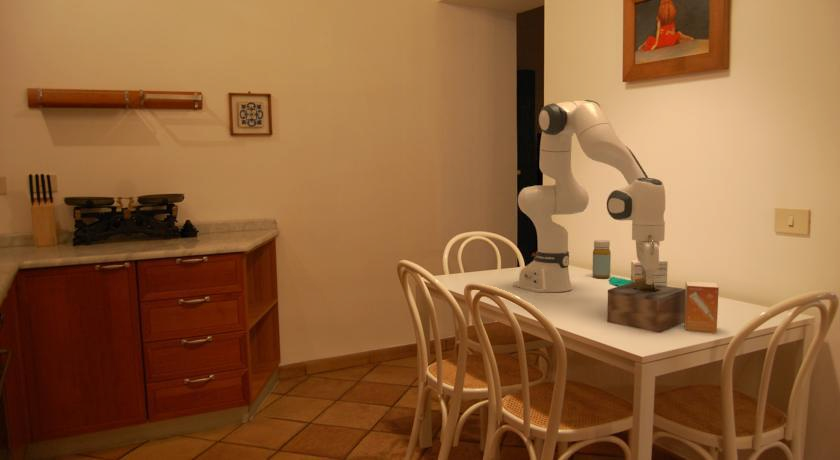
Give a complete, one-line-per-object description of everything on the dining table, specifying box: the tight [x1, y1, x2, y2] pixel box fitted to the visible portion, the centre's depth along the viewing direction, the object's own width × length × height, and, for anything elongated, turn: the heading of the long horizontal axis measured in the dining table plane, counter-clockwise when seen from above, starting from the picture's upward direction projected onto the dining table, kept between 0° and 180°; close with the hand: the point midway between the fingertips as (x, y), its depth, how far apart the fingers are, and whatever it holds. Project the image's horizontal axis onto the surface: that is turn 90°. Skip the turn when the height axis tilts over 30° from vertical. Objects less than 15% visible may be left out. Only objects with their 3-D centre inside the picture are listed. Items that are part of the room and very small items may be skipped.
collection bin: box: [606, 282, 685, 334], centre depth 172 cm, size 16×16×10 cm
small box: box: [683, 281, 720, 334], centre depth 164 cm, size 8×6×13 cm
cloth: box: [608, 276, 631, 287], centre depth 225 cm, size 26×14×2 cm, turn 163°
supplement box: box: [653, 257, 669, 286], centre depth 208 cm, size 7×7×13 cm
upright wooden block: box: [634, 274, 656, 292], centre depth 171 cm, size 5×2×5 cm, turn 67°
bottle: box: [592, 239, 612, 279], centre depth 241 cm, size 7×7×15 cm
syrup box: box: [630, 259, 642, 283], centre depth 194 cm, size 6×6×14 cm
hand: (646, 280), depth 171 cm, fingers open, 8 cm apart
